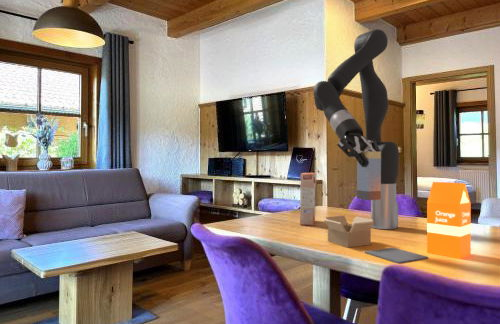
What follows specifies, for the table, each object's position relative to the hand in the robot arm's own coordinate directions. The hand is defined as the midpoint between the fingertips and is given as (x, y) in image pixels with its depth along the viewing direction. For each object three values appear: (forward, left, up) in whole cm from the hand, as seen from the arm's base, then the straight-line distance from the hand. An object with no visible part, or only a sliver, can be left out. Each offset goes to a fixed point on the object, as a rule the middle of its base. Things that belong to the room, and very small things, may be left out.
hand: (372, 164), depth 109 cm
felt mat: (-1, +8, -25) cm, 26 cm away
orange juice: (-16, +13, -25) cm, 32 cm away
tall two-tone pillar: (0, -1, -10) cm, 10 cm away
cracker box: (-10, -47, -25) cm, 54 cm away
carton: (0, -10, -25) cm, 27 cm away
